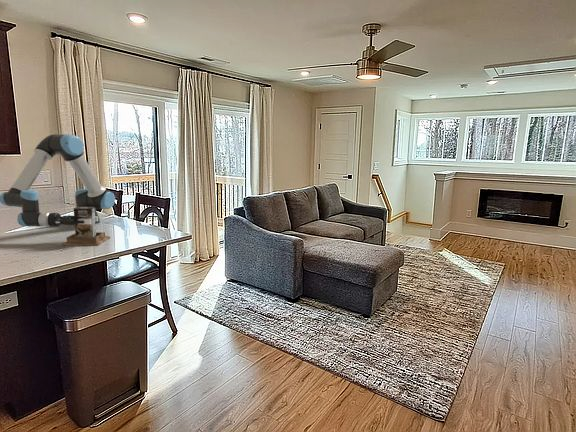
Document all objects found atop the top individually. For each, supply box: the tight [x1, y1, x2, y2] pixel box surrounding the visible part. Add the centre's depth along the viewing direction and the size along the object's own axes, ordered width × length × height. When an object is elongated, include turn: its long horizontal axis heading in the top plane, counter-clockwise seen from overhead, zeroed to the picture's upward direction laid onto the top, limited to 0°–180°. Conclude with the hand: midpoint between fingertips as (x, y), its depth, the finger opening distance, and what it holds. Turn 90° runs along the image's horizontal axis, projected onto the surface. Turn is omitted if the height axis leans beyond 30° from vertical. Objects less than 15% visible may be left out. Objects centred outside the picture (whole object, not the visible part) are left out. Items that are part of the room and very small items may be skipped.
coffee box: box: [73, 207, 97, 237], centre depth 201 cm, size 9×6×16 cm
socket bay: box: [62, 231, 111, 246], centre depth 204 cm, size 16×18×4 cm
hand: (94, 220), depth 202 cm, fingers closed on coffee box, 7 cm apart
